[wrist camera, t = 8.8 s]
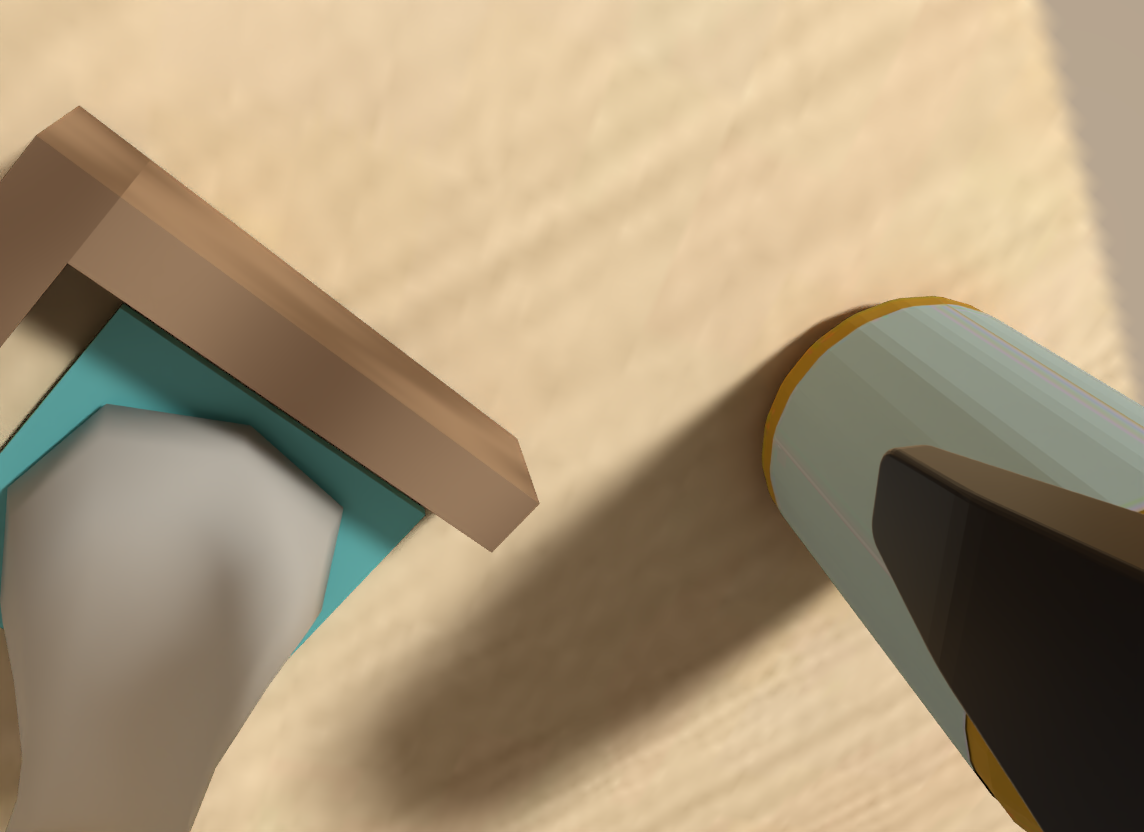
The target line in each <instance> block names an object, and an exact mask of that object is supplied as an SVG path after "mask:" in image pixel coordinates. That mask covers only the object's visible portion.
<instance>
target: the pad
mask: <svg viewBox="0 0 1144 832" xmlns="http://www.w3.org/2000/svg"><path fill="white" fill-rule="evenodd" d="M105 404H112V405H119V406H126V407H132V408H139V409H145V410H152V411H159V412H165V413H172V414H178V415H185V416H192V417H198V418H205V419H211V420H218V421H225V422H231V423H238V424H244V425H251V426H252V427H253V428H254V429H255V430H256V431H257V432H258V433H260V434H261V435H262V436H263V437H264V438H265V439H266V440H267V441H269V442H270V443H271V444H272V445H273V446H274V447H275V448H277V449H278V450H279V451H280V452H281V453H282V454H283V455H284V456H286V457H287V458H288V459H289V460H290V461H291V462H292V463H293V464H295V465H296V466H297V467H298V468H299V469H300V470H301V471H302V472H304V473H305V474H306V475H307V476H308V477H309V478H310V479H311V480H313V481H314V482H315V483H316V484H317V485H318V486H319V487H320V488H322V489H323V490H324V491H325V492H326V493H327V494H328V495H330V496H331V497H332V498H333V499H334V500H335V501H336V502H337V503H339V504H340V505H341V506H342V507H343V508H344V509H343V513H342V518H341V523H340V527H339V532H338V536H337V541H336V546H335V550H334V555H333V560H332V564H331V569H330V574H329V578H328V583H327V588H326V592H325V597H324V602H323V606H322V611H321V612H320V614H319V615H318V617H317V618H316V620H315V621H314V623H313V625H312V626H311V628H310V629H309V631H308V632H307V633H306V635H305V636H304V638H303V639H302V640H301V642H300V643H299V645H298V646H297V647H296V649H295V650H294V651H293V653H294V652H295V651H296V650H297V649H298V648H299V647H300V646H301V645H302V644H303V643H304V642H305V641H306V640H307V639H308V637H309V636H310V635H311V634H312V633H313V632H314V631H315V630H316V629H317V628H318V627H319V626H320V625H321V624H322V623H323V622H324V621H325V620H326V619H327V618H328V616H329V615H330V614H331V613H332V612H333V611H334V610H335V609H336V608H337V607H338V606H339V605H340V604H341V603H342V602H343V601H344V600H345V599H346V598H347V597H348V596H349V594H350V593H351V592H352V591H353V590H354V589H355V588H356V587H357V586H358V585H359V584H360V583H361V582H362V581H363V580H364V579H365V578H366V577H367V576H368V575H369V574H370V572H371V571H372V570H373V569H374V568H375V567H376V566H377V565H378V564H379V563H380V562H381V561H382V560H383V559H384V558H385V557H386V556H387V555H388V554H389V553H390V552H391V550H392V549H393V548H394V547H395V546H396V545H397V544H398V543H399V542H400V541H401V540H402V539H403V538H404V537H405V536H406V535H407V534H408V533H409V532H410V531H411V529H412V528H413V527H414V526H415V525H416V524H417V523H418V522H419V521H420V520H421V519H422V518H423V517H424V516H425V509H424V508H423V507H422V506H420V505H419V504H417V503H416V502H414V501H413V500H411V499H410V498H408V497H407V496H406V495H404V494H403V493H401V492H400V491H398V490H397V489H395V488H394V487H392V486H391V485H389V484H388V483H386V482H385V481H384V480H382V479H381V478H379V477H378V476H376V475H375V474H373V473H372V472H370V471H369V470H367V469H366V468H364V467H363V466H362V465H360V464H359V463H357V462H356V461H354V460H353V459H351V458H350V457H348V456H347V455H345V454H344V453H342V452H341V451H340V450H338V449H337V448H335V447H334V446H332V445H331V444H329V443H328V442H326V441H325V440H323V439H322V438H320V437H319V436H317V435H316V434H315V433H313V432H312V431H310V430H309V429H307V428H306V427H304V426H303V425H301V424H300V423H298V422H297V421H295V420H294V419H293V418H291V417H290V416H288V415H287V414H285V413H284V412H282V411H281V410H279V409H278V408H276V407H275V406H273V405H272V404H271V403H269V402H268V401H266V400H265V399H263V398H262V397H260V396H259V395H257V394H256V393H254V392H253V391H251V390H250V389H249V388H247V387H246V386H244V385H243V384H241V383H240V382H238V381H237V380H235V379H234V378H232V377H231V376H229V375H228V374H227V373H225V372H224V371H222V370H221V369H219V368H218V367H216V366H215V365H213V364H212V363H210V362H209V361H207V360H206V359H204V358H203V357H202V356H200V355H199V354H197V353H196V352H194V351H193V350H191V349H190V348H188V347H187V346H185V345H184V344H182V343H181V342H180V341H178V340H177V339H175V338H174V337H172V336H171V335H169V334H168V333H166V332H165V331H163V330H162V329H160V328H159V327H158V326H156V325H155V324H153V323H152V322H150V321H149V320H147V319H146V318H144V317H143V316H141V315H140V314H138V313H137V312H136V311H134V310H133V309H131V308H130V307H128V306H127V305H125V304H124V303H123V304H122V305H121V306H120V308H119V309H118V310H117V311H116V313H115V314H114V315H113V316H112V317H111V319H110V320H109V321H108V322H107V323H106V325H105V326H104V327H103V328H102V330H101V331H100V332H99V333H98V334H97V336H96V337H95V338H94V339H93V340H92V342H91V343H90V344H89V345H88V347H87V348H86V349H85V350H84V351H83V353H82V354H81V355H80V356H79V357H78V359H77V360H76V361H75V362H74V364H73V365H72V366H71V367H70V368H69V370H68V371H67V372H66V373H65V374H64V376H63V377H62V378H61V379H60V381H59V382H58V383H57V384H56V385H55V387H54V388H53V389H52V390H51V391H50V393H49V394H48V395H47V396H46V398H45V399H44V400H43V401H42V402H41V404H40V405H39V406H38V407H37V408H36V410H35V411H34V412H33V413H32V415H31V416H30V417H29V418H28V419H27V421H26V422H25V423H24V424H23V425H22V427H21V428H20V429H19V430H18V432H17V433H16V434H15V435H14V436H13V438H12V439H11V440H10V441H9V442H8V444H7V445H6V446H5V447H4V449H3V450H2V451H1V452H0V592H1V577H2V563H3V548H4V533H5V518H6V503H7V488H8V487H9V486H10V485H11V484H13V483H14V482H15V481H16V480H17V479H18V478H20V477H21V476H22V475H23V474H24V473H25V472H27V471H28V470H29V469H30V468H31V467H33V466H34V465H35V464H36V463H37V462H38V461H40V460H41V459H42V458H43V457H44V456H45V455H47V454H48V453H49V452H50V451H51V450H53V449H54V448H55V447H56V446H57V445H58V444H60V443H61V442H62V441H63V440H64V439H65V438H67V437H68V436H69V435H70V434H71V433H72V432H74V431H75V430H76V429H77V428H78V427H80V426H81V425H82V424H83V423H84V422H85V421H87V420H88V419H89V418H90V417H91V416H92V415H94V414H95V413H96V412H97V411H98V410H99V409H101V408H102V407H103V406H104V405H105ZM0 628H2V629H4V627H3V622H2V613H1V604H0ZM293 653H292V654H293ZM292 654H291V655H292Z"/></svg>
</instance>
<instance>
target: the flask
mask: <svg viewBox="0 0 1144 832" xmlns="http://www.w3.org/2000/svg"><path fill="white" fill-rule="evenodd" d="M343 509H344V508H343V507H342V506H341V505H340V504H339V503H337V502H336V501H335V500H334V499H333V498H332V497H331V496H330V495H328V494H327V493H326V492H325V491H324V490H323V489H322V488H320V487H319V486H318V485H317V484H316V483H315V482H314V481H313V480H311V479H310V478H309V477H308V476H307V475H306V474H305V473H304V472H302V471H301V470H300V469H299V468H298V467H297V466H296V465H295V464H293V463H292V462H291V461H290V460H289V459H288V458H287V457H286V456H284V455H283V454H282V453H281V452H280V451H279V450H278V449H277V448H275V447H274V446H273V445H272V444H271V443H270V442H269V441H267V440H266V439H265V438H264V437H263V436H262V435H261V434H260V433H258V432H257V431H256V430H255V429H254V428H253V427H252V426H251V425H244V424H238V423H231V422H225V421H218V420H211V419H205V418H198V417H192V416H185V415H178V414H172V413H165V412H159V411H152V410H145V409H139V408H132V407H126V406H119V405H112V404H105V405H104V406H103V407H102V408H101V409H99V410H98V411H97V412H96V413H95V414H94V415H92V416H91V417H90V418H89V419H88V420H87V421H85V422H84V423H83V424H82V425H81V426H80V427H78V428H77V429H76V430H75V431H74V432H72V433H71V434H70V435H69V436H68V437H67V438H65V439H64V440H63V441H62V442H61V443H60V444H58V445H57V446H56V447H55V448H54V449H53V450H51V451H50V452H49V453H48V454H47V455H45V456H44V457H43V458H42V459H41V460H40V461H38V462H37V463H36V464H35V465H34V466H33V467H31V468H30V469H29V470H28V471H27V472H25V473H24V474H23V475H22V476H21V477H20V478H18V479H17V480H16V481H15V482H14V483H13V484H11V485H10V486H9V487H8V488H7V503H6V518H5V533H4V548H3V563H2V577H1V592H0V604H1V613H2V622H3V627H4V632H5V638H6V643H7V648H8V654H9V659H10V664H11V670H12V675H13V680H14V688H15V697H16V706H17V715H18V724H19V734H20V743H21V752H22V764H21V771H20V779H19V787H18V794H17V800H16V803H15V806H14V808H13V811H12V814H11V817H10V820H9V823H8V826H7V829H6V831H5V832H190V831H191V829H192V826H193V824H194V821H195V818H196V816H197V813H198V811H199V808H200V806H201V803H202V801H203V798H204V796H205V793H206V791H207V788H208V786H209V783H210V781H211V778H212V776H213V773H214V771H215V768H216V766H217V765H218V763H219V762H220V760H221V759H222V757H223V756H224V754H225V753H226V751H227V749H228V748H229V746H230V745H231V743H232V742H233V740H234V739H235V737H236V735H237V734H238V732H239V731H240V729H241V728H242V726H243V725H244V723H245V721H246V720H247V718H248V717H249V715H250V714H251V712H252V711H253V709H254V707H255V706H256V704H257V703H258V701H259V700H260V698H261V697H262V695H263V694H264V692H265V690H266V689H267V687H268V686H269V684H270V683H271V682H272V680H273V679H274V678H275V676H276V675H277V673H278V672H279V671H280V669H281V668H282V667H283V665H284V664H285V662H286V661H287V660H288V658H289V657H290V656H291V654H292V653H293V651H294V650H295V649H296V647H297V646H298V645H299V643H300V642H301V640H302V639H303V638H304V636H305V635H306V633H307V632H308V631H309V629H310V628H311V626H312V625H313V623H314V621H315V620H316V618H317V617H318V615H319V614H320V612H321V611H322V606H323V602H324V597H325V592H326V588H327V583H328V578H329V574H330V569H331V564H332V560H333V555H334V550H335V546H336V541H337V536H338V532H339V527H340V523H341V518H342V513H343Z"/></svg>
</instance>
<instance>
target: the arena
mask: <svg viewBox="0 0 1144 832" xmlns="http://www.w3.org/2000/svg"><path fill="white" fill-rule="evenodd" d="M67 263H68V264H69V265H71V266H72V267H74V268H75V269H77V270H78V271H80V272H81V273H83V274H84V275H86V276H87V277H89V278H90V279H91V280H93V281H94V282H96V283H97V284H99V285H100V286H102V287H103V288H105V289H106V290H108V291H109V292H111V293H112V294H113V295H115V296H116V297H118V298H119V299H121V300H122V301H124V302H125V303H127V304H128V305H130V306H131V307H132V308H134V309H135V310H137V311H138V312H140V313H141V314H143V315H144V316H146V317H147V318H149V319H150V320H152V321H153V322H154V323H156V324H157V325H159V326H160V327H162V328H163V329H165V330H166V331H168V332H169V333H171V334H172V335H174V336H175V337H176V338H178V339H179V340H181V341H182V342H184V343H185V344H187V345H188V346H190V347H191V348H193V349H194V350H195V351H197V352H198V353H200V354H201V355H203V356H204V357H206V358H207V359H209V360H210V361H212V362H213V363H215V364H216V365H217V366H219V367H220V368H222V369H223V370H225V371H226V372H228V373H229V374H231V375H232V376H234V377H235V378H237V379H238V380H239V381H241V382H242V383H244V384H245V385H247V386H248V387H250V388H251V389H253V390H254V391H256V392H257V393H259V394H260V395H261V396H263V397H264V398H266V399H267V400H269V401H270V402H272V403H273V404H275V405H276V406H278V407H279V408H280V409H282V410H283V411H285V412H286V413H288V414H289V415H291V416H292V417H294V418H295V419H297V420H298V421H300V422H301V423H302V424H304V425H305V426H307V427H308V428H310V429H311V430H313V431H314V432H316V433H317V434H319V435H320V436H322V437H323V438H324V439H326V440H327V441H329V442H330V443H332V444H333V445H335V446H336V447H338V448H339V449H341V450H342V451H344V452H345V453H346V454H348V455H349V456H351V457H352V458H354V459H355V460H357V461H358V462H360V463H361V464H363V465H364V466H365V467H367V468H368V469H370V470H371V471H373V472H374V473H376V474H377V475H379V476H380V477H382V478H383V479H385V480H386V481H387V482H389V483H390V484H392V485H393V486H395V487H396V488H398V489H399V490H401V491H402V492H404V493H405V494H407V495H408V496H409V497H411V498H412V499H414V500H415V501H417V502H418V503H420V504H421V505H423V506H424V507H426V508H427V509H429V510H430V511H431V512H433V513H434V514H436V515H437V516H439V517H440V518H442V519H443V520H445V521H446V522H448V523H449V524H450V525H452V526H453V527H455V528H456V529H458V530H459V531H461V532H462V533H464V534H465V535H467V536H468V537H470V538H471V539H472V540H474V541H475V542H477V543H478V544H480V545H481V546H483V547H484V548H486V549H487V550H489V551H490V552H493V551H494V550H495V549H496V548H497V547H498V546H499V545H500V544H501V543H502V542H503V541H504V540H505V538H506V537H507V536H508V535H509V534H510V533H511V532H512V531H513V530H514V529H515V528H516V527H517V526H518V525H519V524H520V523H521V522H522V521H523V520H524V519H525V518H526V517H527V516H528V515H529V514H530V513H531V512H532V511H533V510H534V509H535V508H536V507H537V506H538V505H539V501H538V498H537V495H536V492H535V489H534V486H533V483H532V480H531V477H530V475H529V472H528V469H527V466H526V463H525V460H524V457H523V454H522V451H521V448H520V445H519V443H518V440H517V438H515V437H514V436H513V435H511V434H510V433H509V432H507V431H506V430H505V429H503V428H502V427H501V426H500V425H498V424H497V423H496V422H494V421H493V420H492V419H490V418H489V417H488V416H486V415H485V414H484V413H482V412H481V411H480V410H478V409H477V408H476V407H475V406H473V405H472V404H471V403H469V402H468V401H467V400H465V399H464V398H463V397H461V396H460V395H459V394H457V393H456V392H455V391H454V390H452V389H451V388H450V387H448V386H447V385H446V384H444V383H443V382H442V381H440V380H439V379H438V378H436V377H435V376H434V375H433V374H431V373H430V372H429V371H427V370H426V369H425V368H423V367H422V366H421V365H419V364H418V363H417V362H415V361H414V360H413V359H411V358H410V357H409V356H408V355H406V354H405V353H404V352H402V351H401V350H400V349H398V348H397V347H396V346H394V345H393V344H392V343H390V342H389V341H388V340H387V339H385V338H384V337H383V336H381V335H380V334H379V333H377V332H376V331H375V330H373V329H372V328H371V327H369V326H368V325H367V324H366V323H364V322H363V321H362V320H360V319H359V318H358V317H356V316H355V315H354V314H352V313H351V312H350V311H348V310H347V309H346V308H344V307H343V306H342V305H341V304H339V303H338V302H337V301H335V300H334V299H333V298H331V297H330V296H329V295H327V294H326V293H325V292H323V291H322V290H321V289H320V288H318V287H317V286H316V285H314V284H313V283H312V282H310V281H309V280H308V279H306V278H305V277H304V276H302V275H301V274H300V273H299V272H297V271H296V270H295V269H293V268H292V267H291V266H289V265H288V264H287V263H285V262H284V261H283V260H281V259H280V258H279V257H277V256H276V255H275V254H274V253H272V252H271V251H270V250H268V249H267V248H266V247H264V246H263V245H262V244H260V243H259V242H258V241H256V240H255V239H254V238H253V237H251V236H250V235H249V234H247V233H246V232H245V231H243V230H242V229H241V228H239V227H238V226H237V225H235V224H234V223H233V222H232V221H230V220H229V219H228V218H226V217H225V216H224V215H222V214H221V213H220V212H218V211H217V210H216V209H214V208H213V207H212V206H210V205H209V204H208V203H207V202H205V201H204V200H203V199H201V198H200V197H199V196H197V195H196V194H195V193H193V192H192V191H191V190H189V189H188V188H187V187H186V186H184V185H183V184H182V183H180V182H179V181H178V180H176V179H175V178H174V177H172V176H171V175H170V174H168V173H167V172H166V171H165V170H163V169H162V168H161V167H159V166H158V165H157V164H155V163H154V162H153V161H151V160H150V159H149V158H147V157H146V156H145V155H143V154H142V153H141V152H140V151H138V150H137V149H136V148H134V147H133V146H132V145H130V144H129V143H128V142H126V141H125V140H124V139H122V138H121V137H120V136H119V135H117V134H116V133H115V132H113V131H112V130H111V129H109V128H108V127H107V126H105V125H104V124H103V123H101V122H100V121H99V120H98V119H96V118H95V117H94V116H92V115H91V114H90V113H88V112H87V111H86V110H84V109H83V108H82V107H80V106H78V107H76V108H75V109H73V110H72V111H71V112H69V113H68V114H66V115H65V116H63V117H62V118H61V119H59V120H58V121H56V122H55V123H53V124H52V125H50V126H49V127H48V128H46V129H45V130H43V131H42V132H40V133H39V134H37V135H36V136H35V138H34V139H33V140H32V142H31V143H30V144H29V145H28V147H27V148H26V149H25V151H24V152H23V153H22V155H21V156H20V157H19V158H18V160H17V161H16V162H15V164H14V165H13V166H12V168H11V169H10V170H9V171H8V173H7V174H6V175H5V177H4V178H3V179H2V181H1V182H0V347H1V346H2V345H3V343H4V342H5V341H6V340H7V338H8V337H9V336H10V335H11V333H12V332H13V331H14V330H15V328H16V327H17V326H18V325H19V323H20V322H21V321H22V320H23V318H24V317H25V316H26V315H27V313H28V312H29V311H30V310H31V308H32V307H33V306H34V305H35V303H36V302H37V301H38V300H39V298H40V297H41V296H42V295H43V293H44V292H45V291H46V290H47V288H48V287H49V286H50V285H51V283H52V282H53V281H54V280H55V278H56V277H57V276H58V275H59V273H60V272H61V271H62V270H63V268H64V267H65V266H66V265H67Z"/></svg>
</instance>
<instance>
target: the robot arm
mask: <svg viewBox="0 0 1144 832" xmlns="http://www.w3.org/2000/svg"><path fill="white" fill-rule="evenodd" d="M872 534H873V538H874V542H875V545H876V547H877V549H878V551H879V553H880V555H881V557H882V559H883V561H884V563H885V565H886V567H887V569H888V571H889V573H890V575H891V577H892V579H893V581H894V583H895V585H896V587H897V589H898V591H899V593H900V595H901V597H902V599H903V601H904V603H905V605H906V607H907V609H908V611H909V613H910V615H911V617H912V619H913V621H914V623H915V625H916V627H917V629H918V631H919V633H920V635H921V637H922V639H923V641H924V643H925V645H926V647H927V649H928V651H929V653H930V655H931V656H932V658H933V660H934V662H935V664H936V666H937V667H938V669H939V671H940V672H941V674H942V676H943V677H944V679H945V681H946V682H947V684H948V686H949V687H950V689H951V690H952V692H953V694H954V695H955V697H956V698H957V700H958V701H959V703H960V704H961V706H962V707H963V709H964V711H965V712H966V714H967V715H968V717H969V718H970V720H971V721H972V723H973V724H974V726H975V728H976V729H977V731H978V732H979V734H980V735H981V737H982V738H983V740H984V741H985V743H986V745H987V746H988V748H989V749H990V751H991V752H992V754H993V755H994V757H995V758H996V760H997V761H998V763H999V765H1000V766H1001V768H1002V769H1003V771H1004V772H1005V774H1006V775H1007V777H1008V778H1009V780H1010V782H1011V783H1012V785H1013V786H1014V788H1015V789H1016V791H1017V792H1018V794H1019V795H1020V797H1021V799H1022V800H1023V802H1024V803H1025V805H1026V806H1027V808H1028V809H1029V811H1030V812H1031V814H1032V816H1033V817H1034V819H1035V820H1036V822H1037V823H1038V825H1039V826H1040V828H1041V829H1042V831H1043V832H1144V514H1142V513H1139V512H1136V511H1132V510H1129V509H1126V508H1123V507H1120V506H1117V505H1114V504H1111V503H1108V502H1104V501H1101V500H1098V499H1095V498H1092V497H1089V496H1086V495H1083V494H1080V493H1077V492H1073V491H1070V490H1067V489H1064V488H1061V487H1058V486H1055V485H1052V484H1049V483H1045V482H1042V481H1039V480H1036V479H1033V478H1030V477H1027V476H1024V475H1021V474H1017V473H1014V472H1011V471H1008V470H1005V469H1002V468H999V467H996V466H993V465H989V464H986V463H983V462H980V461H977V460H974V459H971V458H968V457H965V456H962V455H958V454H955V453H952V452H949V451H946V450H943V449H940V448H937V447H934V446H930V445H914V446H905V447H896V448H892V449H889V450H888V451H887V452H886V453H885V454H884V455H883V457H882V459H881V462H880V466H879V472H878V479H877V486H876V493H875V500H874V508H873V515H872Z"/></svg>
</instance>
